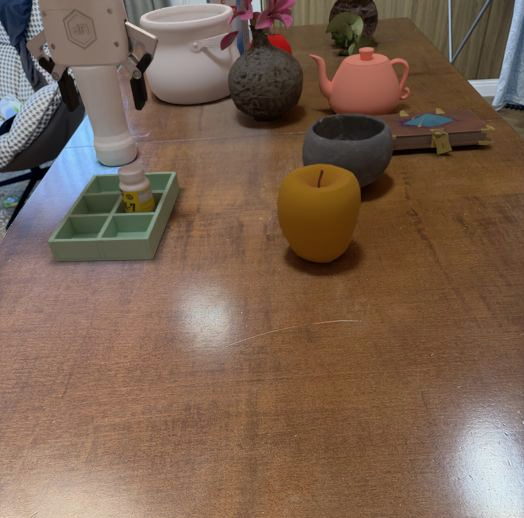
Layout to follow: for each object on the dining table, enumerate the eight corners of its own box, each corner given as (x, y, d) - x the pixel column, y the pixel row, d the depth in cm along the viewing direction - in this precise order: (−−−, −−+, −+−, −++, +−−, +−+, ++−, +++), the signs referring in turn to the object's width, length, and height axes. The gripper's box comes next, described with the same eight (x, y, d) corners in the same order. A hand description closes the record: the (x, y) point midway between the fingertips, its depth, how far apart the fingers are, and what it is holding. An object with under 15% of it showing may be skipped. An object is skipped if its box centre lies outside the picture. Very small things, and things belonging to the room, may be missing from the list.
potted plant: (328, 45, 163) (320, 66, 137) (332, -13, 154) (324, -3, 127) (377, 46, 162) (378, 68, 135) (384, -12, 152) (387, -1, 125)
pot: (131, 95, 133) (113, 17, 121) (202, 72, 144) (192, -2, 132) (191, 116, 119) (177, 29, 107) (265, 88, 130) (260, 7, 118)
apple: (275, 275, 70) (270, 188, 61) (285, 234, 77) (281, 151, 69) (355, 278, 68) (362, 189, 59) (357, 236, 76) (363, 151, 67)
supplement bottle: (122, 219, 83) (108, 169, 77) (146, 208, 85) (134, 159, 79) (139, 228, 80) (126, 178, 74) (163, 217, 83) (152, 167, 77)
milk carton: (213, 61, 152) (203, -20, 138) (220, 56, 156) (211, -24, 142) (244, 62, 149) (237, -21, 135) (251, 56, 153) (245, -25, 140)
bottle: (126, 147, 107) (82, -27, 86) (145, 158, 102) (103, -24, 82) (91, 159, 104) (37, -19, 83) (110, 171, 99) (57, -16, 78)
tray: (55, 261, 76) (47, 241, 74) (99, 192, 92) (93, 174, 90) (153, 259, 75) (147, 238, 72) (179, 190, 91) (176, 171, 88)
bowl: (284, 186, 89) (282, 128, 82) (343, 159, 96) (345, 103, 89) (346, 214, 81) (349, 152, 74) (406, 183, 87) (414, 123, 80)
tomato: (282, 82, 132) (280, 37, 125) (241, 78, 138) (238, 34, 131) (302, 70, 139) (301, 27, 132) (263, 66, 144) (260, 24, 137)
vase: (306, 128, 108) (304, -49, 88) (225, 134, 109) (205, -40, 88) (301, 102, 120) (299, -59, 100) (228, 107, 121) (211, -51, 100)
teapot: (310, 126, 109) (310, 62, 100) (308, 102, 120) (308, 42, 111) (413, 121, 107) (422, 55, 98) (402, 97, 118) (409, 36, 110)
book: (347, 134, 107) (348, 108, 103) (466, 125, 106) (470, 99, 102) (359, 162, 94) (361, 134, 91) (493, 153, 93) (500, 124, 90)
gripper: (-14, -38, 57) (38, 118, 69) (134, -45, 56) (162, 116, 68) (13, -46, 63) (58, 100, 74) (149, -52, 61) (172, 98, 73)
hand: (107, 108), depth 71 cm, fingers open, 9 cm apart
